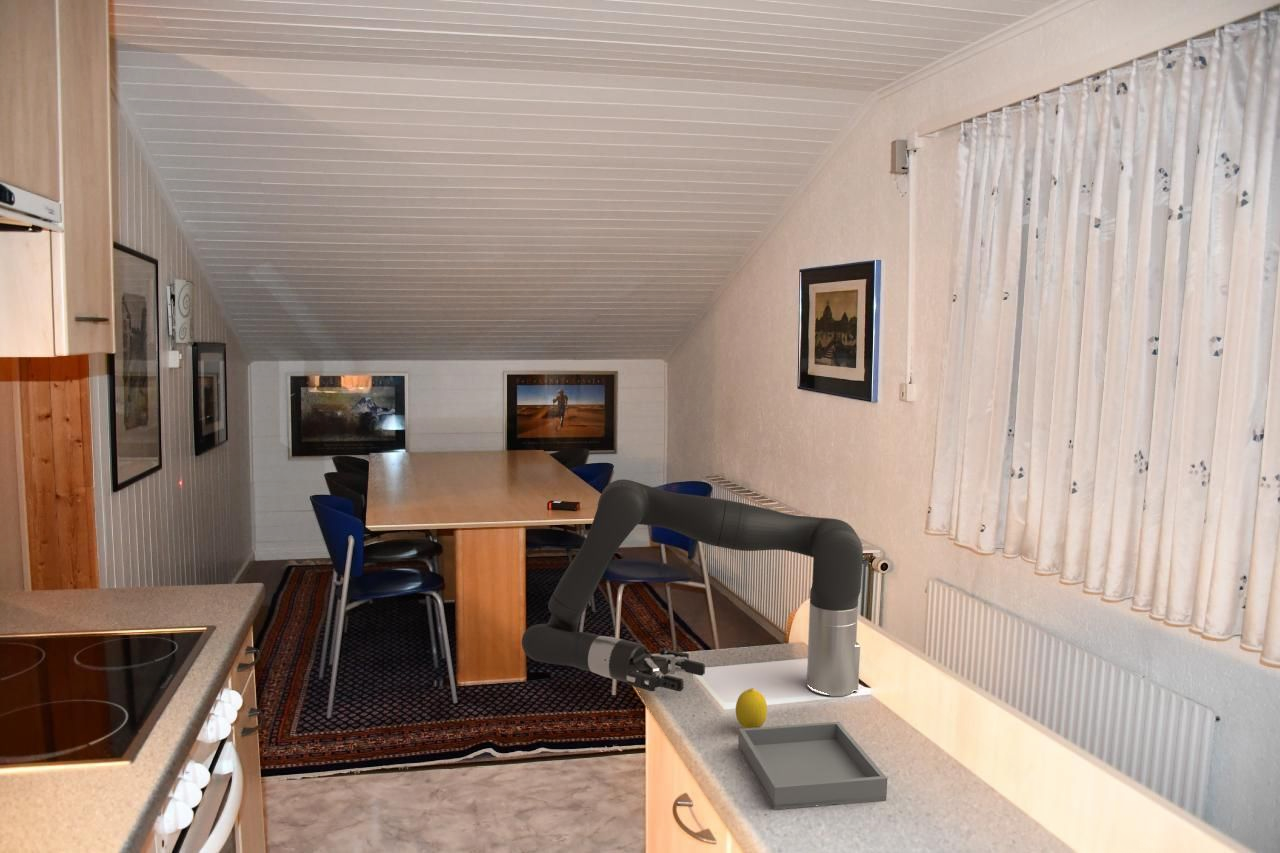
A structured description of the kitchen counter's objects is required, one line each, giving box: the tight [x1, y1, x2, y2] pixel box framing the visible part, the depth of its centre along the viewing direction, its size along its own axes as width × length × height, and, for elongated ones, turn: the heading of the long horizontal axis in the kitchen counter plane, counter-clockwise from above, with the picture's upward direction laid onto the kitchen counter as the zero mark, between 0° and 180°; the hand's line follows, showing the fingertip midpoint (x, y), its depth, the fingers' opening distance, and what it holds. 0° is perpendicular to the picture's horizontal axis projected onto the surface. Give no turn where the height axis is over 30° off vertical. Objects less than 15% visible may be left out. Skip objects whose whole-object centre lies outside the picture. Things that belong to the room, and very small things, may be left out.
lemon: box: [735, 687, 768, 728], centre depth 175 cm, size 6×6×8 cm
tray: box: [737, 721, 888, 810], centre depth 160 cm, size 18×20×4 cm
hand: (693, 677), depth 180 cm, fingers open, 8 cm apart
